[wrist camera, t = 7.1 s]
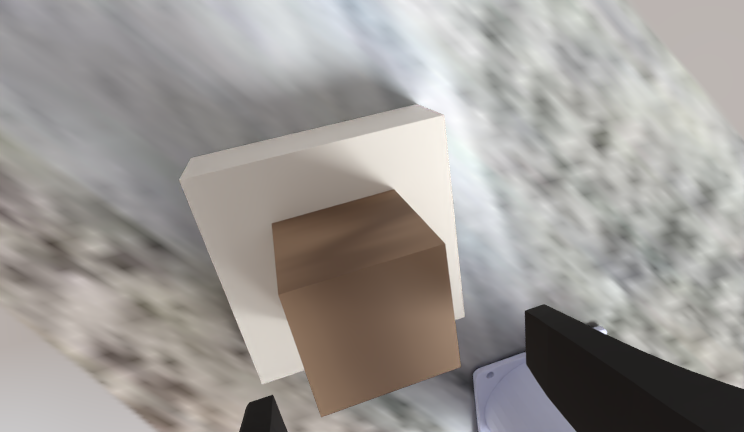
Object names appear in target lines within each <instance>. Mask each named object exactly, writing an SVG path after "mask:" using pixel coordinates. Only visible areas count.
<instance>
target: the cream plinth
mask: <svg viewBox="0 0 744 432" xmlns="http://www.w3.org/2000/svg"><path fill="white" fill-rule="evenodd" d="M179 182H180V184H181V186H182V189H183V191H184V194H185V196H186V199H187V201H188V204H189V206H190V209H191V211H192V213H193V216H194V218H195V221H196V223H197V226H198V228H199V231H200V233H201V235H202V238H203V240H204V243H205V245H206V248H207V250H208V253H209V255H210V258H211V260H212V262H213V265H214V267H215V270H216V272H217V275H218V277H219V280H220V282H221V285H222V287H223V289H224V292H225V294H226V297H227V299H228V302H229V304H230V307H231V309H232V311H233V314H234V316H235V319H236V321H237V324H238V326H239V329H240V331H241V334H242V336H243V338H244V341H245V343H246V346H247V348H248V351H249V353H250V356H251V358H252V361H253V363H254V365H255V368H256V370H257V373H258V375H259V378H260V380H261V383H262V384H265V383H268V382H271V381H274V380H277V379H280V378H283V377H286V376H289V375H292V374H295V373H298V372H301V371H304V367H303V364H302V361H301V358H300V355H299V353H298V350H297V347H296V344H295V341H294V338H293V336H292V333H291V330H290V327H289V324H288V321H287V318H286V316H285V313H284V310H283V307H282V304H281V301H280V299H279V296H278V288H277V277H276V266H275V256H274V245H273V234H272V223H275V222H278V221H282V220H286V219H289V218H293V217H296V216H300V215H303V214H307V213H311V212H314V211H318V210H321V209H325V208H328V207H332V206H336V205H339V204H343V203H346V202H350V201H353V200H357V199H361V198H364V197H368V196H371V195H375V194H378V193H382V192H386V191H389V190H393V189H395V191H396V192H397V193H398V194H399V195H400V196H401V197H402V198H403V199H404V200H405V201H406V202H407V203H408V204H409V205H410V207H411V208H412V209H413V210H414V211H415V212H416V213H417V214H418V215H419V216H420V217H421V218H422V219H423V220H424V221H425V222H426V224H427V225H428V226H429V227H430V228H431V229H432V230H433V231H434V232H435V233H436V234H437V235H438V236H439V237H440V238H441V240H442V241H443V242H444V243H445V246H446V253H447V261H448V269H449V277H450V285H451V293H452V300H453V308H454V316H455V320H457V319H460V318H463V317H465V314H464V304H463V295H462V285H461V275H460V265H459V255H458V245H457V236H456V226H455V216H454V206H453V196H452V186H451V176H450V167H449V157H448V147H447V137H446V127H445V117H444V115H443V114H441V113H438V112H435V111H433V110H430V109H428V108H425V107H423V106H420V105H418V104H415V105H411V106H407V107H402V108H398V109H394V110H390V111H386V112H381V113H377V114H373V115H369V116H365V117H360V118H356V119H352V120H348V121H344V122H339V123H335V124H331V125H327V126H323V127H318V128H314V129H310V130H306V131H302V132H297V133H293V134H289V135H285V136H281V137H276V138H272V139H268V140H264V141H260V142H255V143H251V144H247V145H243V146H239V147H234V148H230V149H226V150H222V151H218V152H213V153H209V154H205V155H201V156H197V157H192V158H190V160H189V162H188V164H187V166H186V168H185V170H184V172H183V173H182V175H181V177H180V179H179Z"/></svg>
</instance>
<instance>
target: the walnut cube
mask: <svg viewBox="0 0 744 432" xmlns="http://www.w3.org/2000/svg"><path fill="white" fill-rule="evenodd" d="M272 234H273V245H274V256H275V266H276V277H277V288H278V296H279V299H280V301H281V304H282V307H283V310H284V313H285V316H286V318H287V321H288V324H289V327H290V330H291V333H292V336H293V338H294V341H295V344H296V347H297V350H298V353H299V355H300V358H301V361H302V364H303V367H304V370H305V372H306V375H307V378H308V381H309V384H310V387H311V390H312V392H313V395H314V398H315V401H316V404H317V407H318V409H319V412H320V415H321V417H323V416H326V415H329V414H332V413H335V412H337V411H340V410H343V409H346V408H348V407H351V406H354V405H357V404H360V403H362V402H365V401H368V400H371V399H373V398H376V397H379V396H382V395H385V394H387V393H390V392H393V391H396V390H398V389H401V388H404V387H407V386H410V385H412V384H415V383H418V382H421V381H423V380H426V379H429V378H432V377H435V376H437V375H440V374H443V373H446V372H448V371H451V370H454V369H457V368H460V367H461V363H460V355H459V347H458V340H457V332H456V324H455V316H454V308H453V300H452V293H451V285H450V277H449V269H448V261H447V253H446V246H445V243H444V242H443V241H442V240H441V238H440V237H439V236H438V235H437V234H436V233H435V232H434V231H433V230H432V229H431V228H430V227H429V226H428V225H427V224H426V222H425V221H424V220H423V219H422V218H421V217H420V216H419V215H418V214H417V213H416V212H415V211H414V210H413V209H412V208H411V207H410V205H409V204H408V203H407V202H406V201H405V200H404V199H403V198H402V197H401V196H400V195H399V194H398V193H397V192H396V191H395V189H393V190H389V191H386V192H382V193H378V194H375V195H371V196H368V197H364V198H361V199H357V200H353V201H350V202H346V203H343V204H339V205H336V206H332V207H328V208H325V209H321V210H318V211H314V212H311V213H307V214H303V215H300V216H296V217H293V218H289V219H286V220H282V221H278V222H275V223H272Z"/></svg>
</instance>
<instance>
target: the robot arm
mask: <svg viewBox="0 0 744 432" xmlns="http://www.w3.org/2000/svg"><path fill="white" fill-rule="evenodd" d="M525 337H526V352H523V353H521V354H518V355H515V356H512V357H509V358H506V359H504V360H501V361H498V362H495V363H492V364H489V365H486V366H484V367H481V368H478V369H477V370H476V371H475V372H474V374H473V382H474V393H475V403H476V413H477V424H478V432H744V389H742V388H738V387H735V386H732V385H729V384H726V383H723V382H721V381H718V380H715V379H712V378H709V377H706V376H704V375H701V374H698V373H695V372H692V371H690V370H687V369H685V368H682V367H679V366H677V365H674V364H672V363H670V362H667V361H665V360H662V359H660V358H658V357H655V356H653V355H650V354H648V353H646V352H643V351H641V350H639V349H637V348H634V347H632V346H630V345H628V344H625V343H623V342H621V341H619V340H617V339H615V338H613V337H610V336H608V335H607V331H606V330H605V329H604V328H603V327H601V326H598V327H594V328H592V327H590V326H588V325H586V324H584V323H582V322H580V321H578V320H576V319H574V318H571V317H569V316H567V315H565V314H563V313H561V312H559V311H557V310H555V309H553V308H551V307H549V306H547V305H541V306H538V307H535V308H532V309H529V310H526V311H525ZM239 432H287V429H286V427H285V424H284V422H283V419H282V416H281V414H280V411H279V409H278V406H277V404H276V401H275V399H274V396H273V395H271V396H268V397H265V398H262V399H259V400H256V401H253V402H250V403H249V404H248V405H247V407H246V410H245V414H244V417H243V421H242V424H241V428H240V431H239Z"/></svg>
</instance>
